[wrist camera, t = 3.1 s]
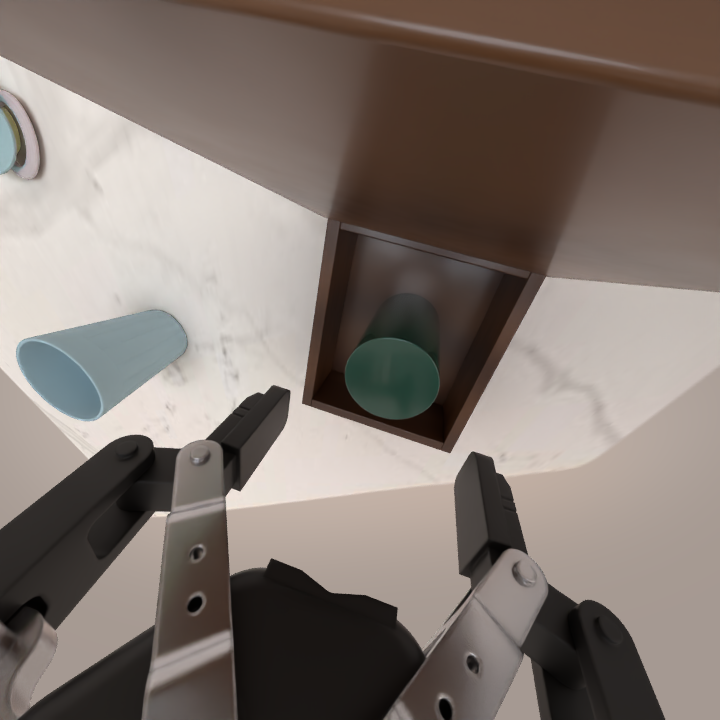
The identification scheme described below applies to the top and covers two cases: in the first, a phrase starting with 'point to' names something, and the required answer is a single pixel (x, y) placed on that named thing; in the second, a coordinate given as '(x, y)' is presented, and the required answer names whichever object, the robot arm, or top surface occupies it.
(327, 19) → the lid
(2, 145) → the pacifier
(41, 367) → the cup
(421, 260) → the brown wooden box
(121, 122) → the top surface
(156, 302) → the top surface
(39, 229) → the top surface
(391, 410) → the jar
